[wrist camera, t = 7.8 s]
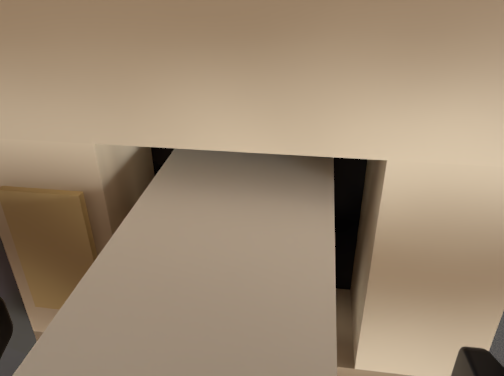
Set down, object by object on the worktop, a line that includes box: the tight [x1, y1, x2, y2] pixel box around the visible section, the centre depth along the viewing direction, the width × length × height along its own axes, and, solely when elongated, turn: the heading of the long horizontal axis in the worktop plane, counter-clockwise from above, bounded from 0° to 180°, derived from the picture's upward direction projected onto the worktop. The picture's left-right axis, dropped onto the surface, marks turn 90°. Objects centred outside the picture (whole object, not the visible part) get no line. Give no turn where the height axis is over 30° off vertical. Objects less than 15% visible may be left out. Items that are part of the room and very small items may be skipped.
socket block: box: [0, 0, 504, 376], centre depth 9 cm, size 22×12×3 cm, turn 1°
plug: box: [13, 148, 337, 376], centre depth 9 cm, size 4×4×10 cm
